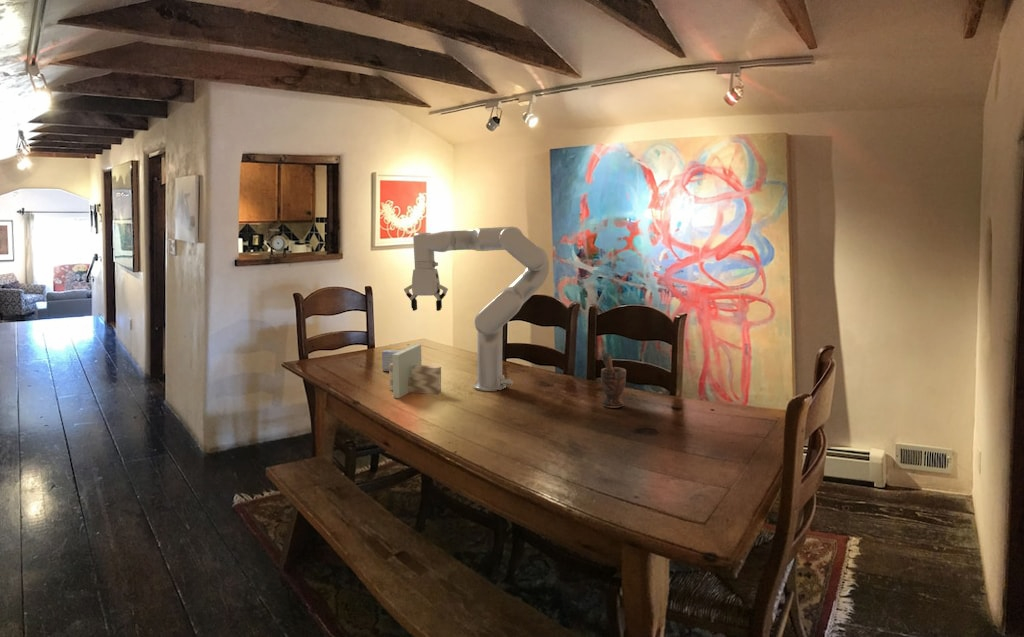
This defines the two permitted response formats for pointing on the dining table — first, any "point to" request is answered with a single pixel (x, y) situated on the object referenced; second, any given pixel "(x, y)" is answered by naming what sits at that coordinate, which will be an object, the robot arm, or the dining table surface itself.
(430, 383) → the maple board
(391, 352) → the medicine box
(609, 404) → the mortar and pestle
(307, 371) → the dining table surface
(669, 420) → the dining table surface
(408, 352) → the sage plate
